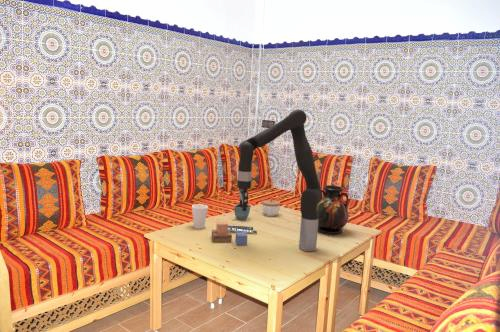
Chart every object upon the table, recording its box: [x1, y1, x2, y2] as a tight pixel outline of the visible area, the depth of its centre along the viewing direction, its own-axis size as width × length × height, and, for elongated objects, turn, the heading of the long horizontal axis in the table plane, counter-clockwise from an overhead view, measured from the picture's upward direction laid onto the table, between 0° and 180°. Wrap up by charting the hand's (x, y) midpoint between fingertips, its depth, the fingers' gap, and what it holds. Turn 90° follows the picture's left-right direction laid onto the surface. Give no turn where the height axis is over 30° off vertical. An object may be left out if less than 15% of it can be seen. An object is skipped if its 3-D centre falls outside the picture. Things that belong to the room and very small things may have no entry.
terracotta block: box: [215, 220, 229, 234], centre depth 218 cm, size 6×6×6 cm
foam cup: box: [191, 203, 209, 230], centre depth 238 cm, size 10×9×13 cm
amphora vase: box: [317, 184, 350, 236], centre depth 242 cm, size 22×22×28 cm
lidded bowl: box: [261, 199, 281, 217], centre depth 273 cm, size 13×13×11 cm
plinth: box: [211, 229, 233, 244], centre depth 219 cm, size 10×10×4 cm
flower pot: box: [233, 203, 251, 221], centre depth 259 cm, size 9×9×9 cm
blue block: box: [234, 231, 248, 246], centre depth 214 cm, size 6×6×6 cm
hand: (242, 208), depth 211 cm, fingers open, 8 cm apart
